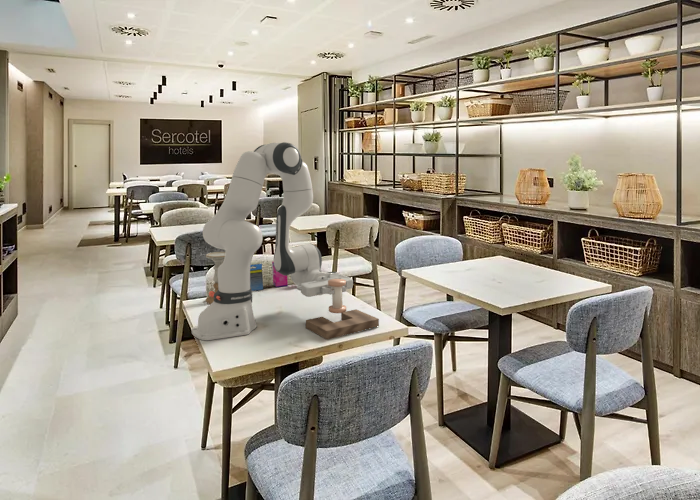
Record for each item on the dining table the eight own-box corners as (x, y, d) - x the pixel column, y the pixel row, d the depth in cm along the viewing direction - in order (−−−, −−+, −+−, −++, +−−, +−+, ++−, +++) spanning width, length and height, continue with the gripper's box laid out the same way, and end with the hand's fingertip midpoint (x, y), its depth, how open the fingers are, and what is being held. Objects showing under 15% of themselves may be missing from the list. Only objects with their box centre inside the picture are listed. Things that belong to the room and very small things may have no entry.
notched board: (326, 339, 174) (326, 331, 173) (305, 328, 185) (305, 320, 185) (378, 326, 186) (378, 318, 185) (356, 316, 197) (356, 309, 197)
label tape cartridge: (260, 287, 240) (259, 261, 238) (263, 289, 237) (262, 263, 234) (241, 290, 236) (240, 263, 233) (244, 292, 232) (243, 265, 230)
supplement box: (272, 284, 245) (271, 261, 243) (284, 283, 248) (283, 259, 246) (275, 287, 240) (275, 263, 238) (288, 286, 243) (287, 262, 240)
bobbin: (334, 314, 183) (334, 284, 181) (325, 309, 188) (324, 280, 186) (349, 311, 187) (349, 281, 185) (340, 306, 192) (339, 277, 190)
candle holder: (228, 305, 213) (226, 257, 209) (200, 304, 215) (197, 256, 211) (240, 297, 224) (238, 251, 221) (214, 296, 227) (211, 250, 223)
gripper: (293, 279, 190) (313, 287, 179) (340, 271, 202) (361, 278, 190) (294, 295, 191) (313, 304, 180) (340, 286, 203) (361, 294, 192)
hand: (338, 290), depth 185 cm, fingers closed on bobbin, 4 cm apart
